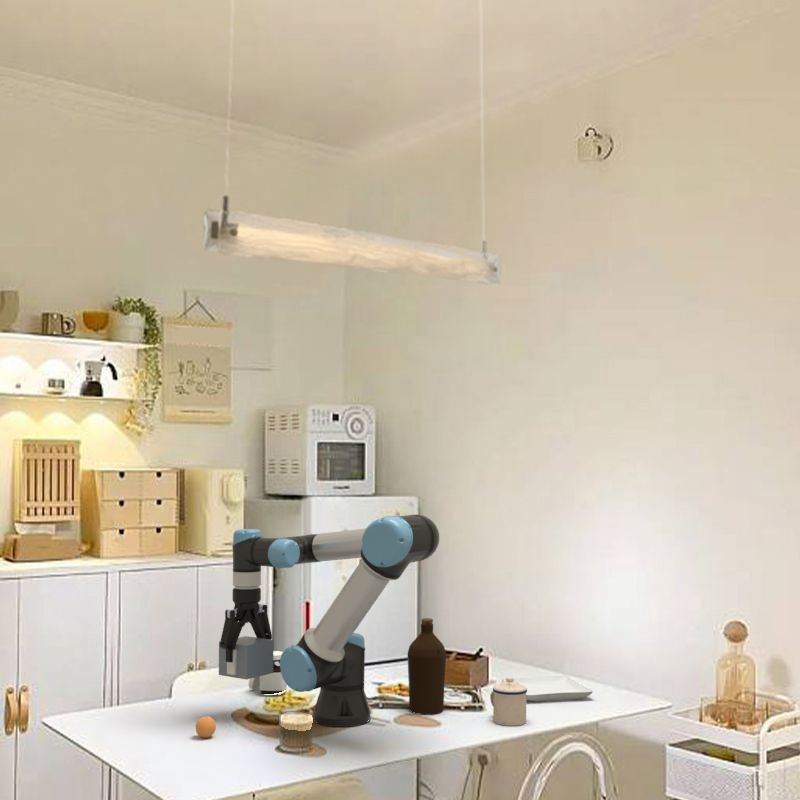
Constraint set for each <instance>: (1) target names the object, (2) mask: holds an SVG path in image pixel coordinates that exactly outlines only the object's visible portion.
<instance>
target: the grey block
mask: <svg viewBox="0 0 800 800" xmlns="http://www.w3.org/2000/svg"><path fill="white" fill-rule="evenodd" d="M220 641H221V640H220ZM220 641H218V675H219V676H224V677H230V678H234V679H240V680H241V679H242V680H246V681H247V680H250V679H251V678H255V677H259V676H263V675H267V674H271V673H273V651H274V639H263V638H257V637H256V636H250V635H249V636H247V635H245V636H239V637H238V640H237V642H236V645H235V647H234V649H235V650H236V675H230V674H227V662H226V650H225V649H223V648H221V647H220ZM230 645H231V644H230Z"/></svg>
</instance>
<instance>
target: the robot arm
mask: <svg viewBox="0 0 800 800" xmlns="http://www.w3.org/2000/svg"><path fill="white" fill-rule="evenodd" d="M439 544H440V532H439V529H438V527H437V525H436V524H435V522H434V521H433V520H431V519H430V518H429V517H427V516H425V515H422V514H407V515H399V516H397V515H386V516H383V517H380V518H378V519H375V520H374V521H373V520H372V522H371V523H369V524H368V526H366V527H364V528H360V529H359V528H357V529H347V530H339V531H331V532H323V533H315V534H314V533H312V534H311V533H310V534H305V535H297V536H287V537H286V536H285V537H284V536H283V537H277V538H275V537H270V538H269V537H263V536H262V531H261V529H257V528H240V529H236V530H235V531H234V532H233V538H232V544H231V545H232V586H233V589H232V602H233V604H234V606H233V609H226V610H225V612H224V614H225V616H224V617H225V618H224V623H223V627H222V633H221V637H220V647H221V648H223V649H225V650H226V662H227V674H230V675H236V650H235V649H234V647H235V645H236V642H237V640H238V638H239V637H240V634H241V632H242V629H243V627H245V625H246V624H248V623H249V624H250V625H251V628H252V630H253V633H254V635H255V637H256V638H263V639H271V640H273V634H272V630H271V625H270V620H269V616H268V615H269V614H268V605H267V604H263V603H262V604H261V603H259V602H261V601H262V589H261V585H262V567H269V568H277V569H288V568H289V569H290V568H293V567H294V566H295V565H301V564H303V565H304V564H309V563H310V564H313V563H321V562H329V561H340V560H343V561H344V560H350V559H351V560H353V559H360V560H361V561H359V563H358V565H357V566H356V567H355V569H354V571H353V572H352V574H351V575H350V576H349V578H348V580H347V581H346V583H345V584H344V585H343V587H342V588H341V590H340V591H339V593H338V594H337V595H336V597H335V598H334V600H333V602H332V603H331V604H330V605H329V608H328V609H327V611H326V612H325V613H324V614H323V616H322V618H321V619H320V621H319V622H318V624H317V625H316V626H315V627H310V628H308V629H306V631H305V632H304V634H303V635H302V637H300V640H299V641H298V642H297V643H296V644H294V645H293V644H292V645H290V646H288V647H287V648H285V650H283V651H282V652H283V653H282V655H281V658H280V668H281V675H282V677H283V679H284V681H285V683H286V684H287V687H289V688H290V689H291V690H293V691H295V692H299V693H302V692H303V693H304V692H311V691H313V690H316V689H319V688H320V690H319V694H318V696H317V700H316V703H315V707H314V708H313V709H314V710H313V717H314V720H315V721H314V720H313V721H314V722H315V723H317V724H319V725H322V726H328V727H330V726H331V727H356V726H360V725H361V726H362V725H364V724H366V722H367V721H368V720H369V719H370V720H371V709H370V706H369V703H368V698H367V695H366V692H365V691H366V690H365V665H366V664H365V662H366V661H365V657H366V652H365V651H366V647H365V637H364V636H363V635H362V634H360V633H358V632H357V633H356V630H357V628H358V627H359V625H360V624H361V623H362V621H363V620H364V618H365V617H366V616H367V614H368V613H369V612H370V610H371V608H372V606H374V604H375V603H376V601H377V600H378V599H379V597H380V595H381V594H382V592H383V591H384V590H385V588H386V587H387V586H388V584H389V582H390V581H397V580H399V579H400V578H401V576H402V575H403V573H404V572H405V570H406V569H407V568H408V566H409V565H410V564H411V563H416V562H422V561H424V560H426V559H428V558H430V557H431V556H432V555H434V553H435V552H436V550H437V549H438V547H439ZM230 644H231V645H230ZM367 723H368V722H367Z"/></svg>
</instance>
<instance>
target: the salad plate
mask: <svg viewBox="0 0 800 800" xmlns="http://www.w3.org/2000/svg"><path fill="white" fill-rule="evenodd" d="M513 678H514V677H513ZM501 681H502V682H503V681H506V678H503V679H502V680H501ZM514 681H515V682H517V683H519V684H520V685H523V686H525V687H526V688H527V692H526V701H528V702H550V701H551V702H552V701H571V700H579V699H584V698H586V697H589V696H590V695H591V694H593V692H594V691H593V689H592V688H591V689H590V688H589V687H587V686H585V685H584V684H583V683H580V682H579V681H577V680H575V679H573V678H571V677H570V676H569V675H567V674H566V675H548V676H547V675H542V676H528V677H515V678H514Z"/></svg>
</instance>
